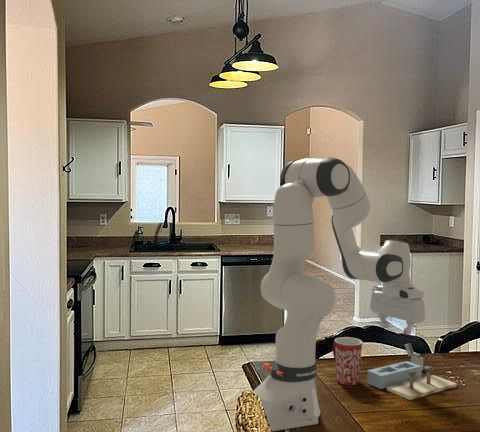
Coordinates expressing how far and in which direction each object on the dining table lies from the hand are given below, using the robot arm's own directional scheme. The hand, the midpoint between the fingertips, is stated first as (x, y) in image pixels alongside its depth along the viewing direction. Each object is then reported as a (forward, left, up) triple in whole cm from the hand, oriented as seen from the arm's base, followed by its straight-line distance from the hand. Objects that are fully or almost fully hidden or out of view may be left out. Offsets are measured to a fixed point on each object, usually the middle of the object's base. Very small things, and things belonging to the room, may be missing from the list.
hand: (395, 330), depth 166 cm
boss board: (+2, -9, -17) cm, 19 cm away
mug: (-14, +9, -17) cm, 23 cm away
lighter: (+16, +6, -17) cm, 24 cm away
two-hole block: (0, 0, -17) cm, 17 cm away
